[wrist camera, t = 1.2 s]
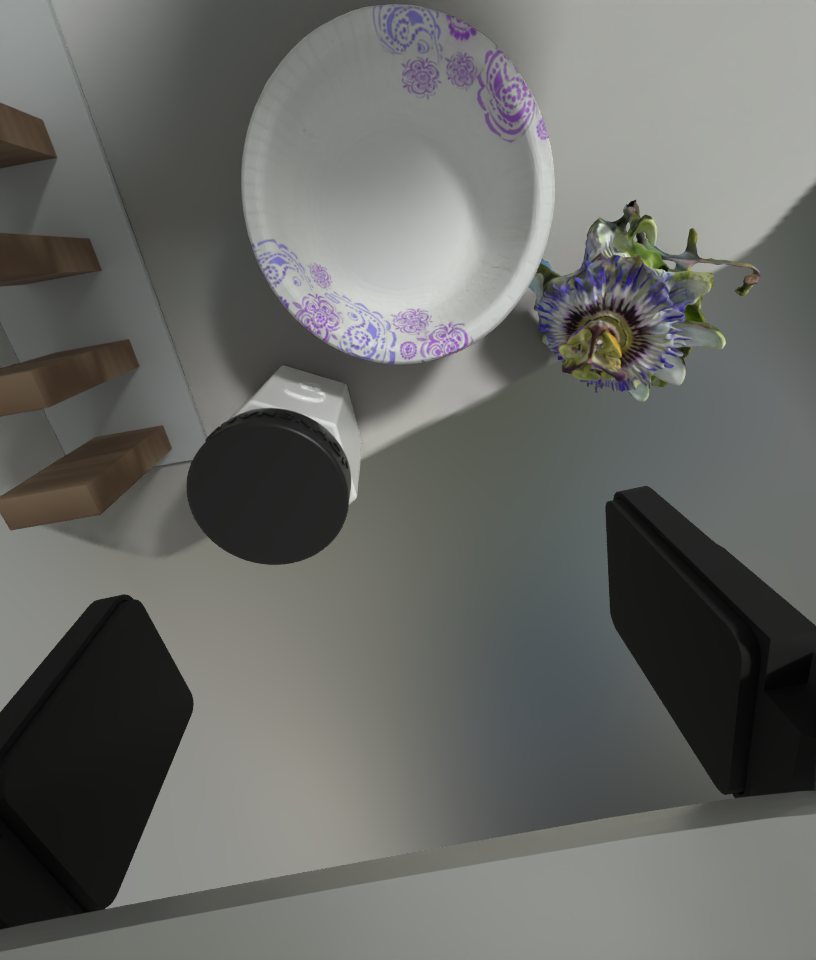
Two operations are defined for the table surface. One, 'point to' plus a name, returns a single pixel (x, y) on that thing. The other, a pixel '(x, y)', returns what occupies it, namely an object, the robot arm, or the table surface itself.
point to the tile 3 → (44, 258)
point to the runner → (102, 218)
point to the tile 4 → (62, 375)
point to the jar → (279, 470)
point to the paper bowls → (397, 184)
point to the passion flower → (628, 308)
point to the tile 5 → (85, 479)
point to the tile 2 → (22, 138)
